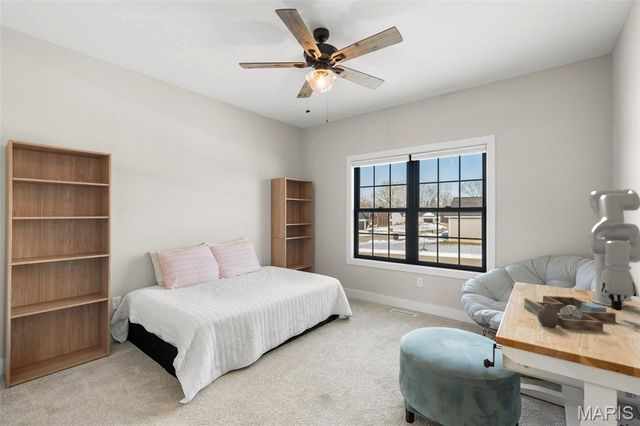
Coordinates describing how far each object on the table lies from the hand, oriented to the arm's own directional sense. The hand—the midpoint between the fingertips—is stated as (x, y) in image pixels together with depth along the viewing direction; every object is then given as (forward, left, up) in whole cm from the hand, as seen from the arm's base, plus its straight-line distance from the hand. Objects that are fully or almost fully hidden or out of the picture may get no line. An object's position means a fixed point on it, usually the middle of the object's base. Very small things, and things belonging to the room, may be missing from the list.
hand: (616, 309), depth 132 cm
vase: (+37, +16, -4) cm, 40 cm away
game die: (+25, +11, -4) cm, 28 cm away
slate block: (+9, -1, -4) cm, 9 cm away
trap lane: (+19, -1, -4) cm, 19 cm away
